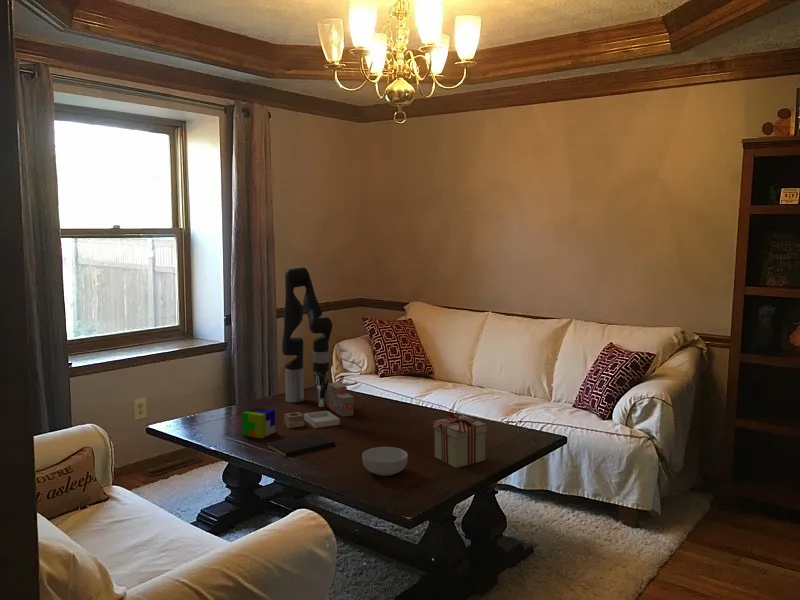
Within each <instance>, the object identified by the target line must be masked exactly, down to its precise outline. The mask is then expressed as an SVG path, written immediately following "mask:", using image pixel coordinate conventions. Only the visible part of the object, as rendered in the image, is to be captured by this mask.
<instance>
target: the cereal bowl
mask: <svg viewBox="0 0 800 600" xmlns="http://www.w3.org/2000/svg"><path fill="white" fill-rule="evenodd" d="M361 454H362V455H361V459H362V464H363V466H364V468H365V469H366V470H367V471H368V472H370V473H373V474H375V475H377V476H380V477H390V476H393V475H395V474H398V473H400V472H401V471H403V470H404V469H405V468H406V466H407V465H408V461H409V454H408V451H406V450H405V449H401V448H398V447H394V446H393V447H392V446H378V447H371V448H369V449H365V451H363V452H362V453H361Z"/></svg>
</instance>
